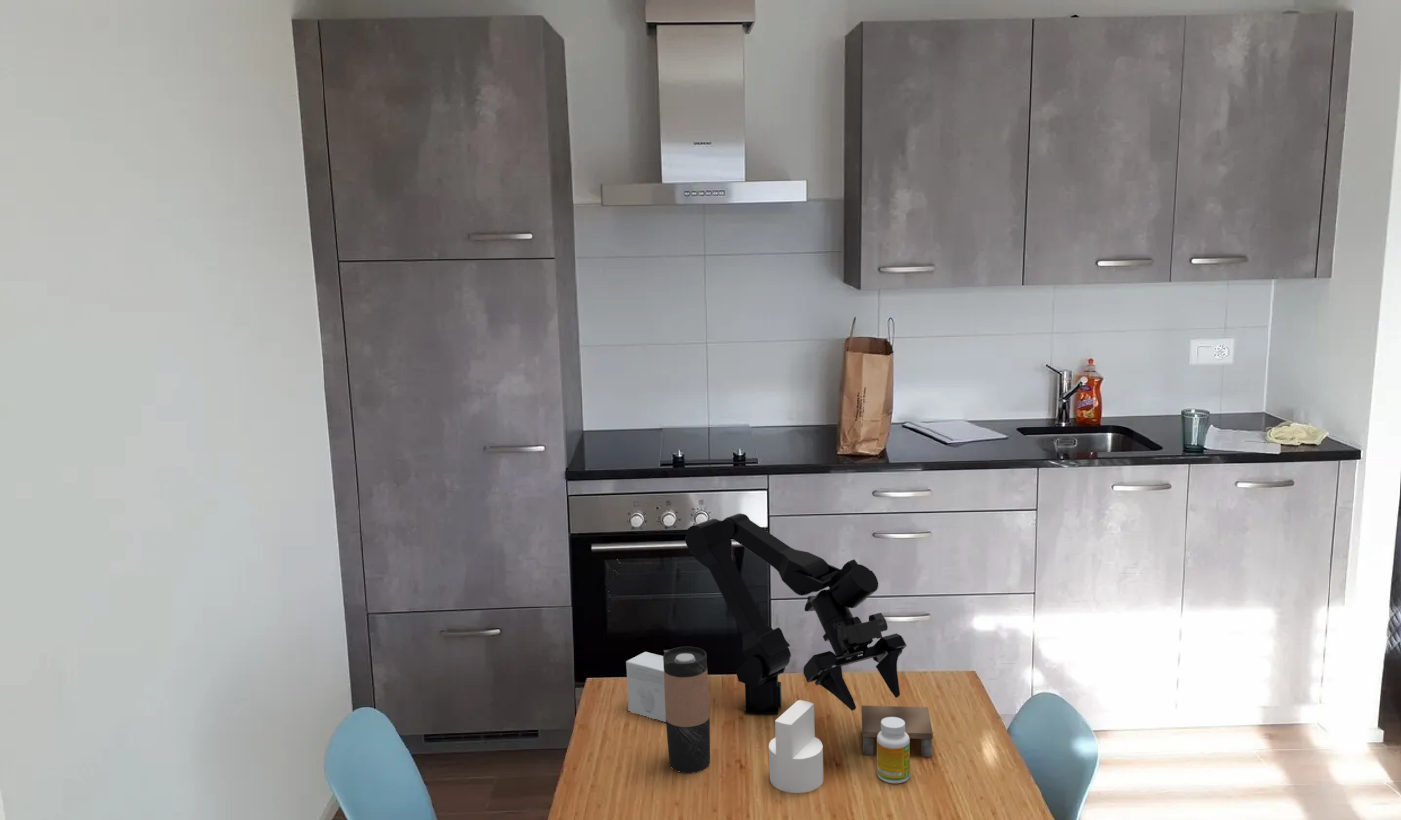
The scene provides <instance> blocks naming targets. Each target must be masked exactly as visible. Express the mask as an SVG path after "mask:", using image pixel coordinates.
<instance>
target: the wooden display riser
mask: <svg viewBox="0 0 1401 820" xmlns="http://www.w3.org/2000/svg"><path fill="white" fill-rule="evenodd" d="M886 717H897V718H900V719H902V720H904V722H905V732H906V733H907V734H908V736H909V739H920V752H921V753H920V755H921V756H922V757H923V758H930V757H932V756H933V753H932V748H933V747H932V746H933V745H932V744H933V743H932V741H933V739H934V737H933V736H934V735H933V734H934V733H933V727H932V722H931V717H930V710H929V707H928V706H900V705H899V706H898V705H897V706H896V705H895V706H893V705H861V730H862V731H861V732H862V751H863V752H862V753H863V755H864V756H873V755H874V738H877V735H878V733H879V732H880V731H882V730H881V720H882V719H884V718H886Z"/></svg>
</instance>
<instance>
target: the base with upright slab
mask: <svg viewBox="0 0 1401 820" xmlns="http://www.w3.org/2000/svg"><path fill="white" fill-rule="evenodd" d="M774 726H775V728H774V730H775V733H774V734H775V737H774V738H772V739H771V740H770V741H769V743H768V760H769V761H768V763H769V780H770V784H771V785H772V786H773V787H774V788H776V789H777V790H780V791H782V792H785V793H790V794H803V793H804V794H805V793H808V792H809V793H810V792H812V791H815V790H817V789H818V788H820V787H821V786H822V784H823V783H824V752H823V751H824V750H823V749H824V747H823V742H822V741H821V739H819V738H818V737H816V734H815V729H816V728H815V703H813V702H812V701H811V702H810V701H807V700H801V699H800V700H799V699H797V700H796V701H795V702H794V703H793V704H792V705H791V706H790V707H789V708H788V709H786V710H785V711H784V712H783V713H782V714H781V715H780V716H779V717H777V718H776V719H775V720H774Z"/></svg>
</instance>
